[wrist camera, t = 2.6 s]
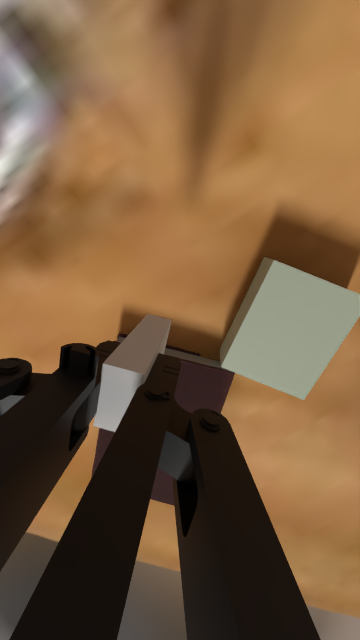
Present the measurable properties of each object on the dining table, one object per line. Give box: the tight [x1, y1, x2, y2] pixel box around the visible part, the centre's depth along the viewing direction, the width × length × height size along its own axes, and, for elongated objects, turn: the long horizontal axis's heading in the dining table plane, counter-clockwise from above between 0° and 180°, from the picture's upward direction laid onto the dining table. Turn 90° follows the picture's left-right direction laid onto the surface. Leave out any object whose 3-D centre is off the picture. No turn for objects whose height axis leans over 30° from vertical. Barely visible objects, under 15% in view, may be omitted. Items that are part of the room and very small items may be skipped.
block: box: [220, 257, 360, 400], centre depth 23 cm, size 10×8×4 cm
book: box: [92, 334, 235, 506], centre depth 28 cm, size 12×19×3 cm, turn 167°
